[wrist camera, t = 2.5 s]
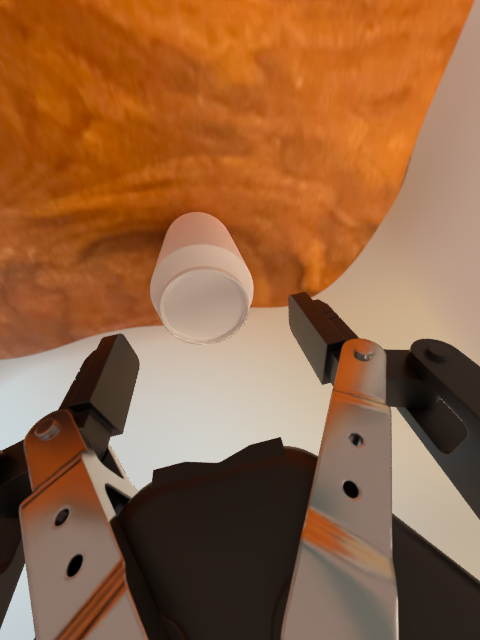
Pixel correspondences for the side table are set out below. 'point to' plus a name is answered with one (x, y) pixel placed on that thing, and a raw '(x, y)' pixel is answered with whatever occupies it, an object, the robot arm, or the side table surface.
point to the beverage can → (201, 281)
